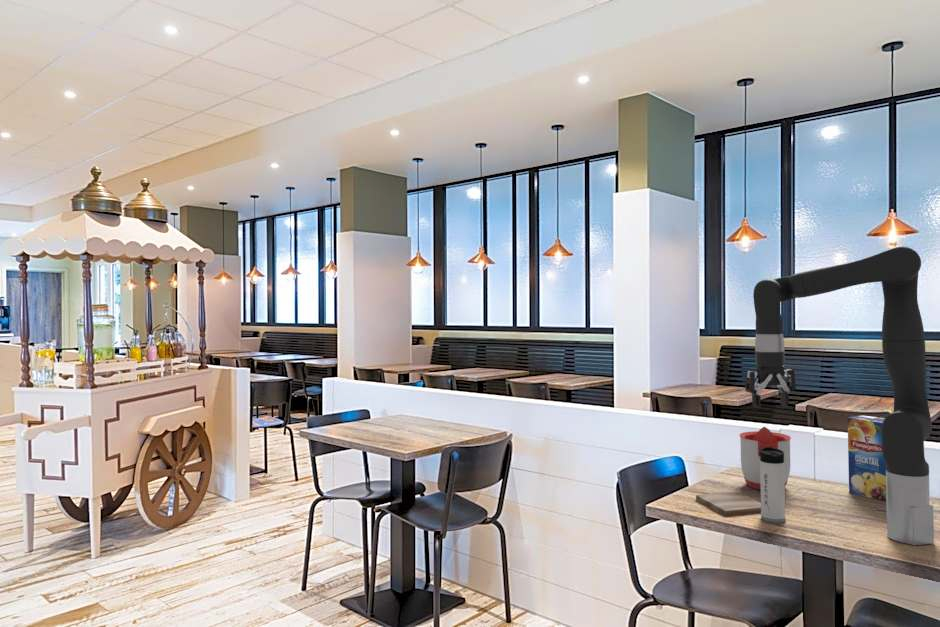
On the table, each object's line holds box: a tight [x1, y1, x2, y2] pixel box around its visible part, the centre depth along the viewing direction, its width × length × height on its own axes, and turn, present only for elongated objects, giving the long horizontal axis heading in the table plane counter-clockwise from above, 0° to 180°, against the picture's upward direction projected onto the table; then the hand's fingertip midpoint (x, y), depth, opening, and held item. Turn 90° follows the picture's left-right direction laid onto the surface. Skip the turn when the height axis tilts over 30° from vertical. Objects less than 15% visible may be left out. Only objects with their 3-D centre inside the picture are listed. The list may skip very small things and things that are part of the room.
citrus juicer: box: [739, 426, 792, 490], centre depth 214 cm, size 16×17×20 cm
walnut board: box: [695, 490, 761, 517], centre depth 196 cm, size 16×14×2 cm
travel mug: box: [760, 447, 787, 524], centre depth 183 cm, size 6×7×20 cm
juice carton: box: [847, 414, 886, 503], centre depth 202 cm, size 12×8×24 cm, turn 26°
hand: (770, 406), depth 183 cm, fingers open, 8 cm apart
